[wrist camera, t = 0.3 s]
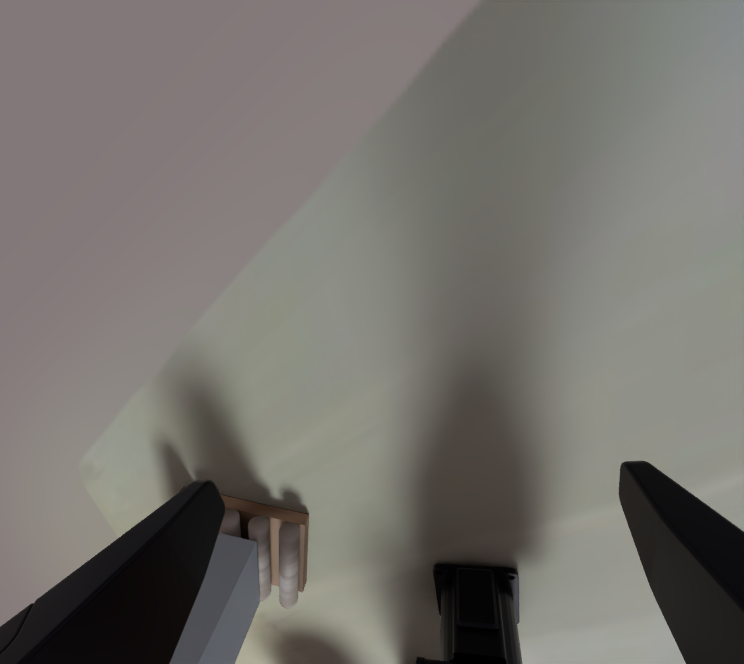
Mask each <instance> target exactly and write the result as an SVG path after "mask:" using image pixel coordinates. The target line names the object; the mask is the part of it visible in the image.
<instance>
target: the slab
mask: <svg viewBox="0 0 744 664" xmlns="http://www.w3.org/2000/svg"><path fill="white" fill-rule="evenodd" d="M259 603H260V598H259V579H258V560H257V542H255V541H251V540H247V539H243V538H239V537H234V536H230V535H226V534H222V533H220V534H219V535H218V537H217V540H216V543H215V547H214V550H213V553H212V556H211V559H210V563H209V566H208V569H207V572H206V575H205V578H204V580H203V583H202V586H201V588H200V591H199V593H198V596H197V598H196V601H195V603H194V605H193V608H192V610H191V613H190V615H189V618H188V620H187V623H186V625H185V627H184V630H183V632H182V635H181V637H180V640H179V642H178V645H177V647H176V649H175V652H174V654H173V657H172V659H171V662H170V664H235V661H236V659H237V656H238V654H239V651H240V649H241V647H242V644H243V642H244V639H245V637H246V634H247V632H248V630H249V627H250V625H251V622H252V620H253V617H254V615H255V612H256V610H257V608H258V605H259Z"/></svg>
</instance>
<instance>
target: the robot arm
mask: <svg viewBox="0 0 744 664" xmlns="http://www.w3.org/2000/svg"><path fill="white" fill-rule="evenodd" d="M619 498H620V502H621V506H622V509H623V511H624V514H625V517H626V520H627V523H628V526H629V529H630V531H631V534H632V537H633V540H634V543H635V546H636V548H637V551H638V554H639V557H640V560H641V563H642V565H643V568H644V571H645V574H646V577H647V579H648V582H649V585H650V587H651V590H652V592H653V594H654V596H655V599H656V601H657V603H658V605H659V607H660V609H661V612H662V614H663V616H664V618H665V620H666V622H667V624H668V626H669V628H670V631H671V633H672V635H673V637H674V639H675V641H676V643H677V645H678V647H679V650H680V652H681V654H682V656H683V658H684V660H685V662H686V664H744V532H743V531H742V530H741V529H739V528H738V527H737V526H735V525H734V524H732V523H731V522H730V521H728V520H727V519H726V518H724V517H723V516H721V515H720V514H719V513H717V512H716V511H715V510H713V509H712V508H710V507H709V506H708V505H706V504H705V503H704V502H702V501H701V500H699V499H698V498H697V497H695V496H694V495H693V494H691V493H690V492H688V491H687V490H686V489H684V488H683V487H682V486H680V485H679V484H677V483H676V482H675V481H673V480H672V479H671V478H669V477H668V476H666V475H665V474H664V473H662V472H661V471H660V470H658V469H657V468H655V467H654V466H653V465H651V464H650V463H648V462H646V461H626V462H623V463H622V464H621V467H620V481H619ZM224 514H225V503H224V501H223V499H222V497H221V495H220V493H219V491H218V489H217V487H216V485H215V483H214V482H213V481H211V480H198V481H195V482H193V483H191V484H190V485H189V486H187V487H186V488H185V489H183V490H182V491H181V492H179V493H178V494H177V495H175V496H174V497H173V498H171V499H170V500H169V501H167V502H166V503H165V504H163V505H162V506H161V507H159V508H158V509H157V510H155V511H154V512H153V513H151V514H150V515H149V516H147V517H146V518H145V519H143V520H142V521H141V522H139V523H138V524H137V525H135V526H134V527H133V528H131V529H130V530H129V531H127V532H126V533H125V534H123V535H122V536H121V537H119V538H118V539H117V540H116V541H114V542H113V543H111V544H110V545H109V546H108V547H106V548H105V549H103V550H102V551H101V552H100V553H98V554H97V555H95V556H94V557H93V558H91V559H90V560H89V561H88V562H86V563H85V564H84V565H82V566H81V567H80V568H78V569H77V570H75V571H74V572H73V573H71V574H70V575H69V576H67V577H66V578H65V579H63V580H62V581H61V582H60V583H58V584H57V585H56V586H54V587H53V588H52V589H50V590H49V591H48V592H46V593H45V594H44V595H42V596H41V597H40V598H38V599H37V600H36V601H35V603H32V604H30V605H29V606H27V607H26V608H25V609H24V610H22V611H21V612H19V613H18V614H17V615H15V616H14V617H13V618H12V619H10V620H9V621H7V622H6V623H5V624H3V625H2V626H1V627H0V664H170V662H171V659H172V657H173V654H174V652H175V649H176V647H177V645H178V642H179V640H180V637H181V635H182V632H183V630H184V627H185V625H186V623H187V620H188V618H189V615H190V613H191V610H192V608H193V605H194V603H195V601H196V598H197V596H198V593H199V591H200V588H201V586H202V583H203V580H204V578H205V575H206V572H207V569H208V566H209V563H210V559H211V556H212V553H213V550H214V547H215V543H216V540H217V537H218V534H219V531H220V527H221V524H222V521H223V518H224ZM433 574H434V581H435V587H436V594H437V601H438V608H439V614H440V616H441V630H440V661H438V660H428V659H425V658H424V657H417V660H416V664H522V658H521V650H520V643H519V636H518V628H517V624H518V623H519V577H518V572H517V570H515V569H512V568H498V567H481V566H465V565H449V564H436V565H434V567H433Z"/></svg>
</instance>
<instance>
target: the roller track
mask: <svg viewBox="0 0 744 664" xmlns="http://www.w3.org/2000/svg"><path fill="white" fill-rule="evenodd" d="M185 488H186V487H183V488H182V490H183V489H185ZM182 490H181V491H182ZM181 491H180V492H181ZM221 497H222V499H223V501H224V503H225V514H224V518H223V521H222V524H221V527H220V531H219V534H220V533H222V534H226V535H230V536H234V537H239V538H243V539H247V540H251V541H255V542H257V560H258V579H259V598H260V601H264V600H266V599H267V598H268V597H269V596H270V594H271V584H272V585H276V586H279V597H280V604H281V606H282V607H284V608H292V607H293V606H295V605H296V603H297V601H298V591H300V592H303V590H304V587H305V584H306V576H307V550H308V523H309V515H308V514H304V513H299V512H295V511H290V510H286V509H281V508H277V507H273V506H268V505H264V504H259V503H255V502H250V501H246V500H241V499H237V498H233V497H228V496H224V495H221ZM219 534H218V535H219Z"/></svg>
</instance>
